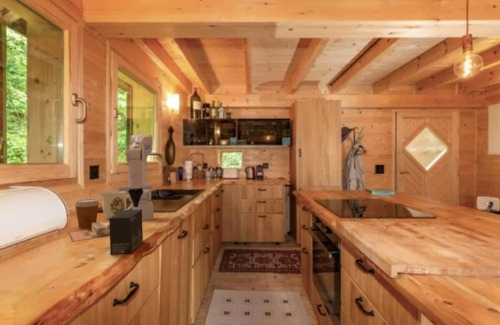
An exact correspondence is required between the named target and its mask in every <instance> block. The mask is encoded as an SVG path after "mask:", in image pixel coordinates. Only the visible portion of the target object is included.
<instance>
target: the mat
mask: <svg viewBox="0 0 500 325" xmlns="http://www.w3.org/2000/svg"><path fill="white" fill-rule="evenodd" d="M67 234H68V235H69V239H70V240H71V242H72V243H76V242H82V241H89V240H93V239H99V238H105V237H110V232H108V235H103V236H96V235H95V234H94V232H93V231H92V228H86V229H80V230H73V231H68V232H67Z"/></svg>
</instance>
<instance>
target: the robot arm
mask: <svg viewBox="0 0 500 325" xmlns="http://www.w3.org/2000/svg"><path fill="white" fill-rule="evenodd" d="M130 139H131V140H130V141H131V142H130V143H131V147H130V148H129V149H126V160H127V161H126V162H127V166H128V172H127V173H128V177H127V178H128V185H121V186H117V187H116V191H118V192H120V191H125V192H128V195H129V197H128V200H129V202H130V203H131V202H132V208H131V210H142V222H144V221H149V220H151V221H154V220H155V218H154V217H155V213H154V211H155V209H154V202H153V201H151V200H152V190H154V184H149V183H148V182H147V181H146V180H147V166H148V165H147V164H148V163H147V162H148V156H149V154H151V153H152V152H153V136H152V135H147V134H140V135H139V134H132V135H131V138H130Z"/></svg>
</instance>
